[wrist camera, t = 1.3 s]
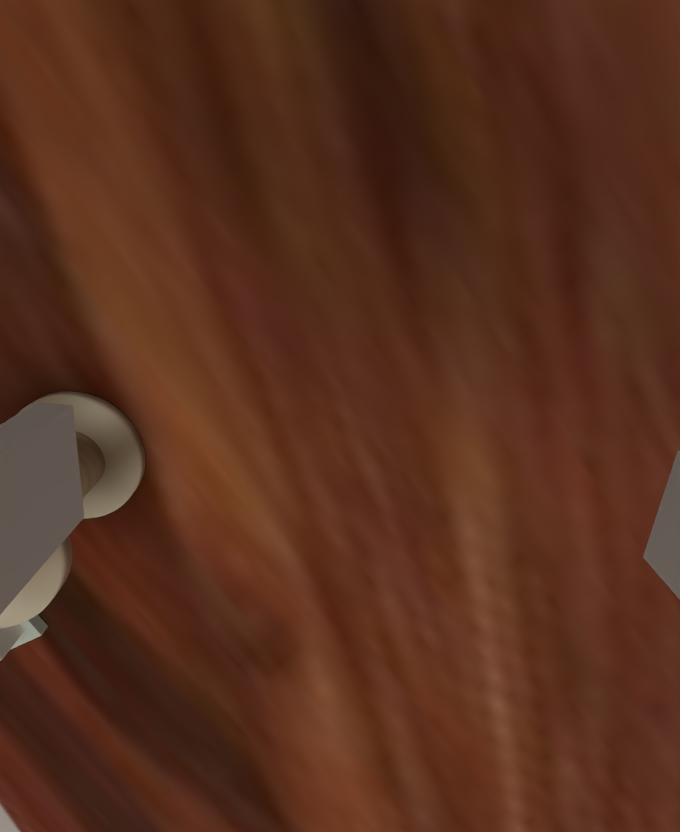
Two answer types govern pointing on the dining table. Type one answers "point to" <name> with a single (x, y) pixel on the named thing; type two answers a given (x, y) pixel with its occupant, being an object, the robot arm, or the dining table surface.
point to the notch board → (20, 634)
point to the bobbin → (86, 488)
